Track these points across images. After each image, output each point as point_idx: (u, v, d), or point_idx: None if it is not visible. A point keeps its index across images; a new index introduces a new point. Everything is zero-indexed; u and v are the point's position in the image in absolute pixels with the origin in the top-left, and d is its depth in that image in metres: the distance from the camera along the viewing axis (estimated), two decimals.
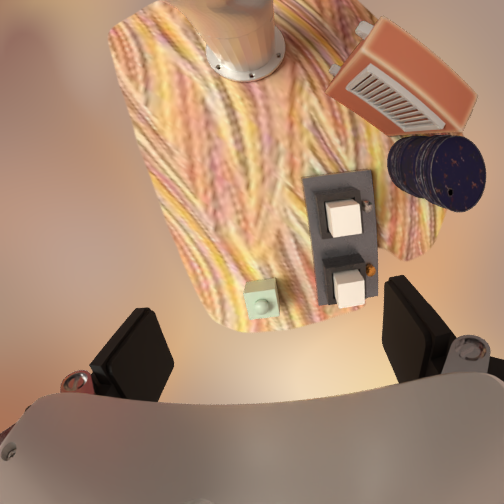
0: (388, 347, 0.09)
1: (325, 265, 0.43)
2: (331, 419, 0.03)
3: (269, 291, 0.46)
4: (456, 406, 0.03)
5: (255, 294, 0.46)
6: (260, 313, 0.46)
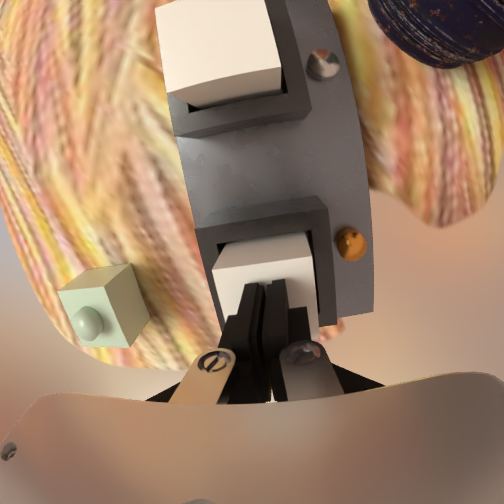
0: None
1: (204, 222, 0.15)
2: (331, 420, 0.03)
3: (95, 290, 0.18)
4: (456, 406, 0.03)
5: (74, 295, 0.18)
6: (85, 337, 0.18)
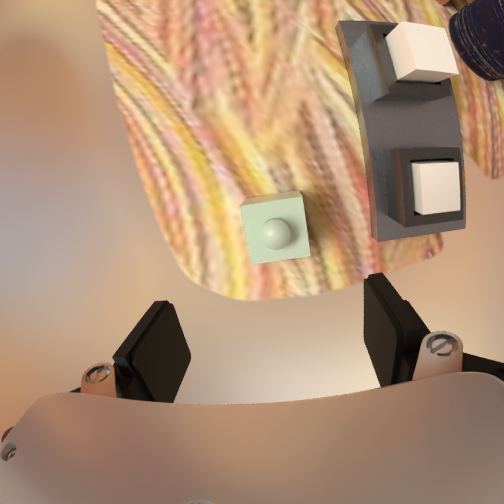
0: (368, 343, 0.10)
1: (395, 149, 0.20)
2: (331, 420, 0.03)
3: (292, 201, 0.23)
4: (456, 406, 0.03)
5: (263, 208, 0.23)
6: (273, 246, 0.23)
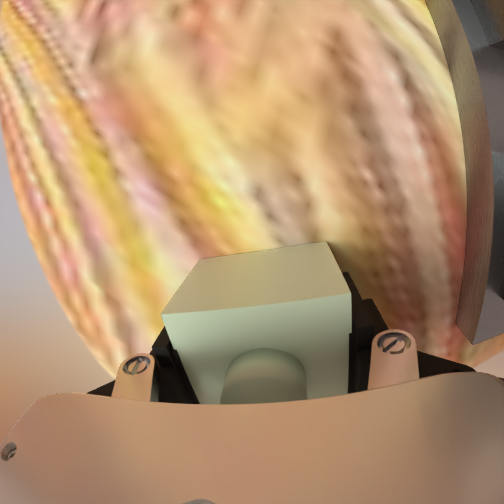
0: None
1: None
2: (332, 420, 0.03)
3: (318, 306, 0.07)
4: (456, 406, 0.03)
5: (227, 324, 0.08)
6: None
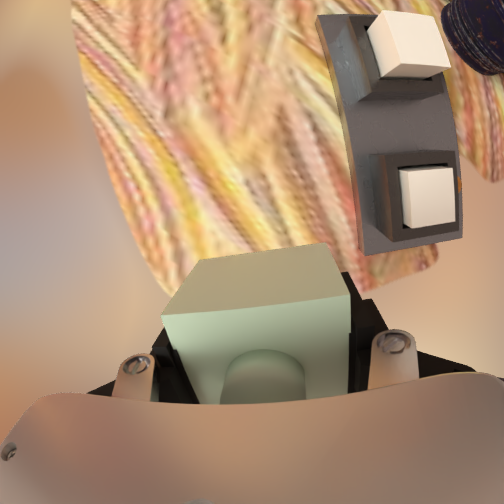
0: None
1: (381, 154, 0.18)
2: (331, 419, 0.03)
3: (317, 308, 0.07)
4: (456, 406, 0.03)
5: (227, 325, 0.08)
6: None
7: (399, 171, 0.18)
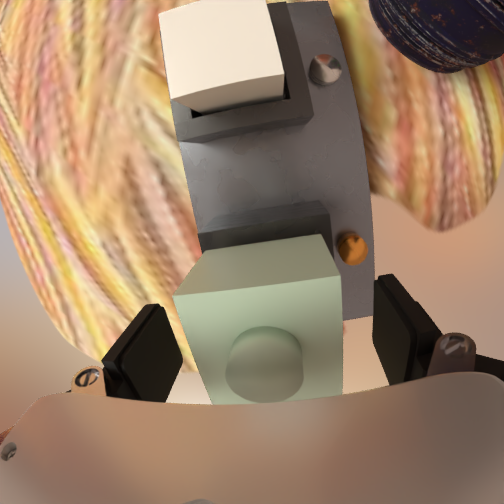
0: (378, 345, 0.10)
1: (207, 227, 0.15)
2: (332, 419, 0.03)
3: (311, 287, 0.08)
4: (456, 406, 0.03)
5: (232, 303, 0.09)
6: (258, 397, 0.08)
7: None
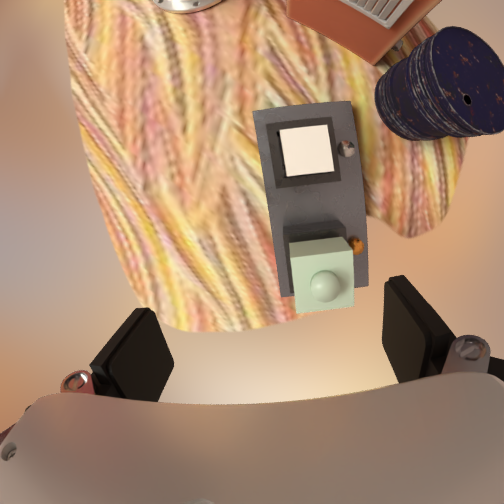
0: (388, 347, 0.09)
1: (284, 232, 0.29)
2: (331, 420, 0.03)
3: (342, 254, 0.23)
4: (456, 406, 0.03)
5: (313, 260, 0.23)
6: (322, 299, 0.23)
7: None
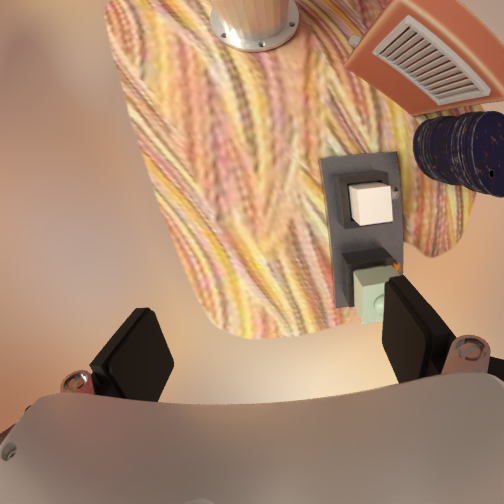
0: (388, 347, 0.09)
1: (346, 260, 0.36)
2: (332, 420, 0.03)
3: None
4: (456, 406, 0.03)
5: (377, 287, 0.30)
6: None
7: (355, 270, 0.36)
